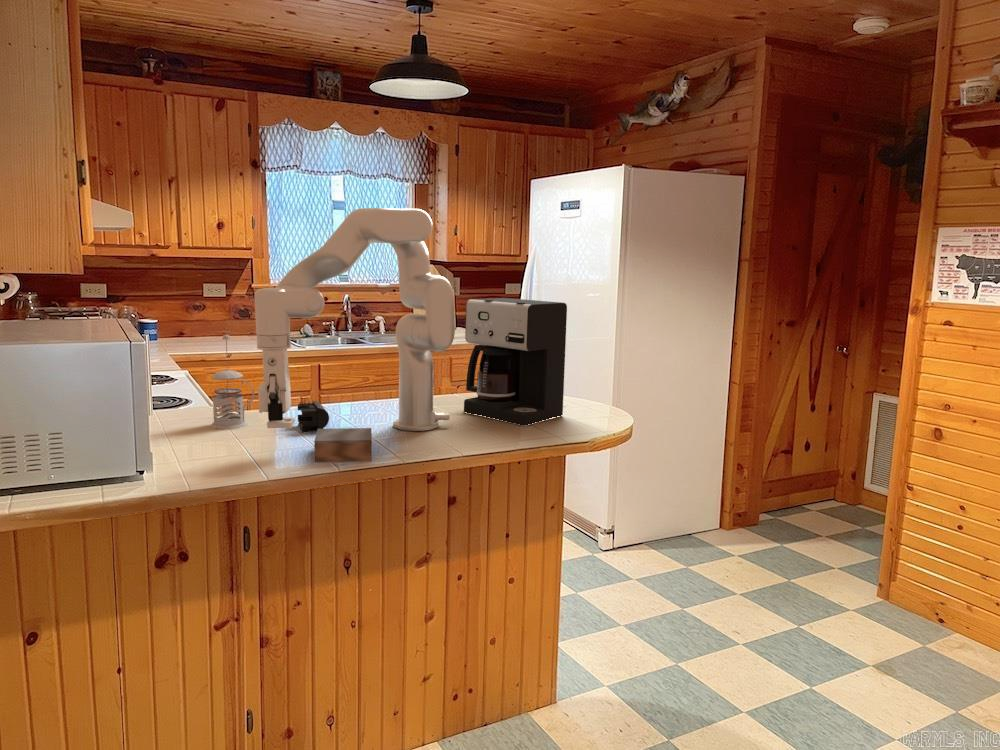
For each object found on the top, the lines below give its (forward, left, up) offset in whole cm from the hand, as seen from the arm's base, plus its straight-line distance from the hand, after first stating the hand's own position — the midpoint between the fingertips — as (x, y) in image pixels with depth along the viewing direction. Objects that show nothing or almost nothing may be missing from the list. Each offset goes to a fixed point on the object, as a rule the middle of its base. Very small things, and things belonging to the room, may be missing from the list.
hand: (277, 416), depth 177 cm
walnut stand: (-15, +1, -9) cm, 18 cm away
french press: (+16, -32, -10) cm, 36 cm away
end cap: (-6, -27, -10) cm, 29 cm away
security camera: (0, 0, -2) cm, 2 cm away
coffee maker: (-63, -42, -10) cm, 76 cm away
